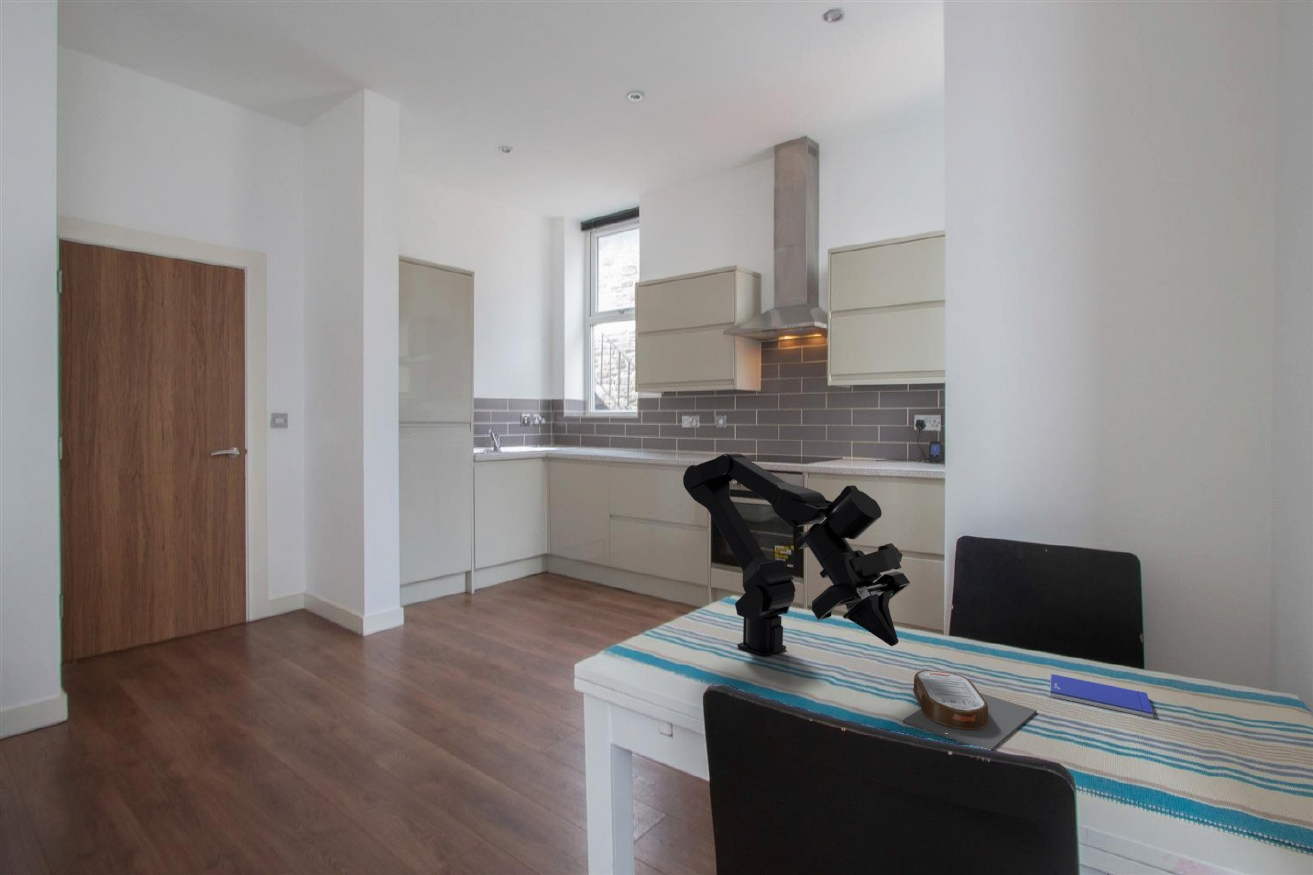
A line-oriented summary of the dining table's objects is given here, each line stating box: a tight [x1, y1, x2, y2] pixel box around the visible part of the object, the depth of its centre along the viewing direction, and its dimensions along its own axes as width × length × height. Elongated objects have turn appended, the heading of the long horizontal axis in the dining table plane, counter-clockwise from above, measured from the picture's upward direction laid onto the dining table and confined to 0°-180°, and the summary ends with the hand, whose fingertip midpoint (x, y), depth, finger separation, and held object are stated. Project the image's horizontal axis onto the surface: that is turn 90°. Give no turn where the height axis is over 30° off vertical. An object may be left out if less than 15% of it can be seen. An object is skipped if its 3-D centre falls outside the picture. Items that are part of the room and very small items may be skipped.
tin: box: [912, 669, 989, 730], centre depth 91 cm, size 15×3×8 cm
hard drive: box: [1049, 673, 1154, 719], centre depth 96 cm, size 2×8×12 cm
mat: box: [902, 692, 1038, 751], centre depth 88 cm, size 11×18×1 cm, turn 132°
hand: (895, 644), depth 93 cm, fingers closed
